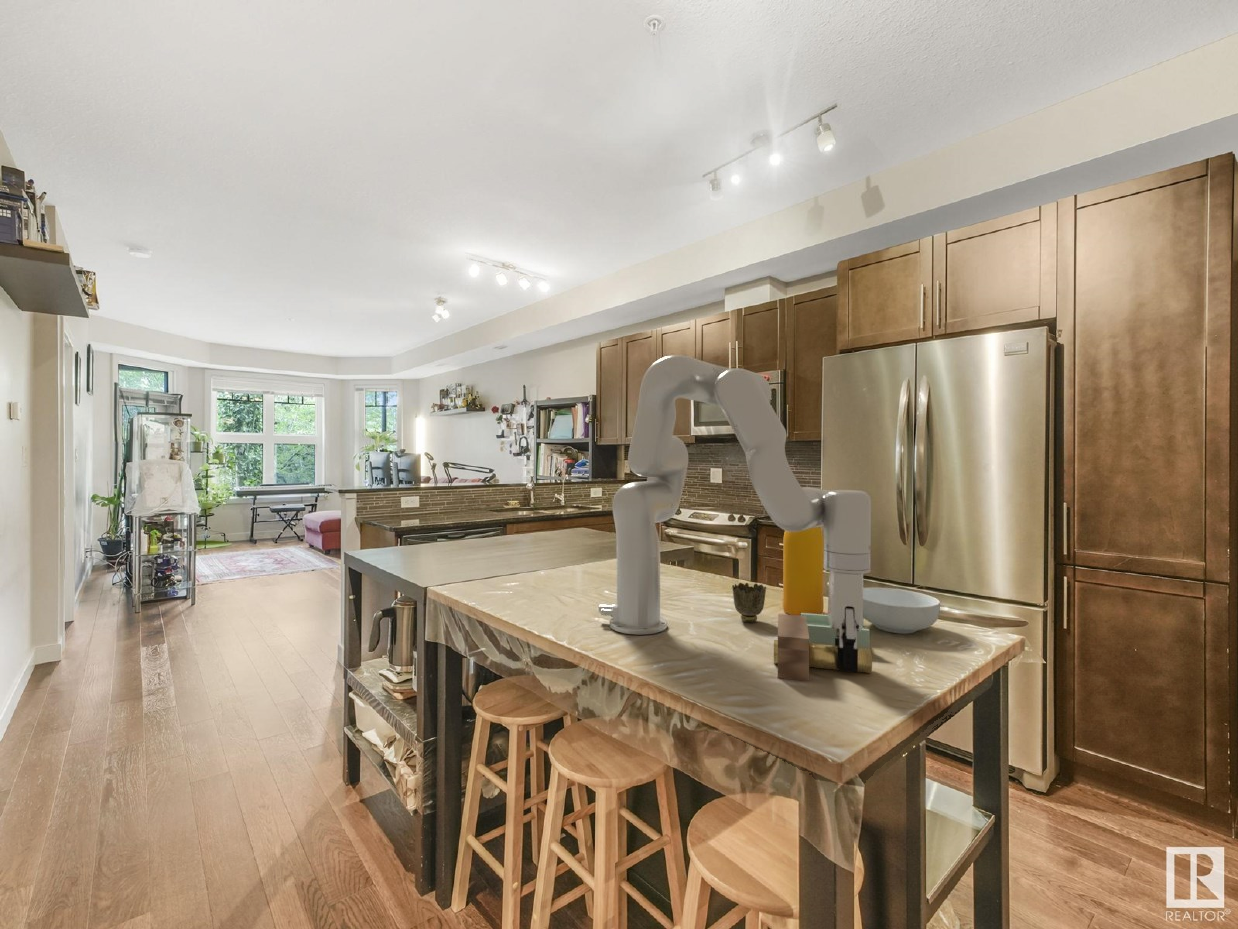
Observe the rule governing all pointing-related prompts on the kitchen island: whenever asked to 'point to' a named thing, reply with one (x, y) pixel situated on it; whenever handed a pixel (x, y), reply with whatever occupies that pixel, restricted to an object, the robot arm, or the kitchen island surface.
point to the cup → (749, 601)
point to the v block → (830, 631)
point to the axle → (831, 657)
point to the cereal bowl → (899, 609)
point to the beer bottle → (803, 571)
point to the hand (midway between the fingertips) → (845, 665)
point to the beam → (793, 647)
